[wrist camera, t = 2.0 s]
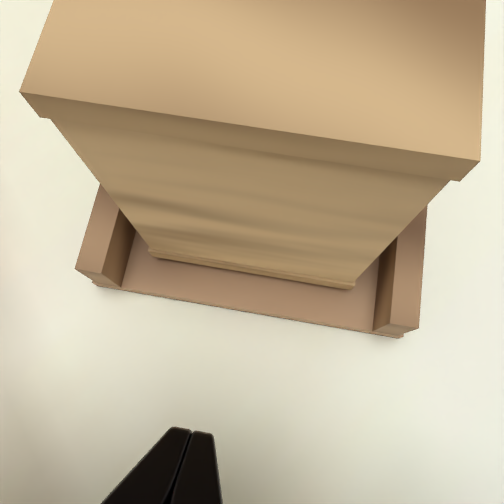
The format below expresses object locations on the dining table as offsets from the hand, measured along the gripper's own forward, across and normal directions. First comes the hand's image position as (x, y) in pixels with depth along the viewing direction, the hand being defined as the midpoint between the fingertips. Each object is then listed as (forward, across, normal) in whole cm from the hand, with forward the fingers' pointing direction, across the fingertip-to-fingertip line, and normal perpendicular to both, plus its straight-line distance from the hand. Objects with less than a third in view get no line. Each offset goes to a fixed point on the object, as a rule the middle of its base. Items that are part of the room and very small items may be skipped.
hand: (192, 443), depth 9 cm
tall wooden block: (+13, 0, -1) cm, 13 cm away
